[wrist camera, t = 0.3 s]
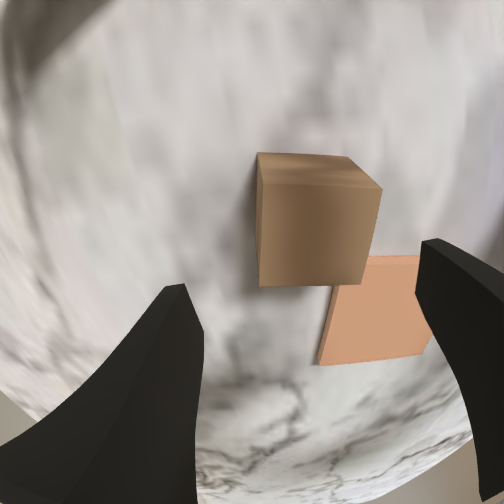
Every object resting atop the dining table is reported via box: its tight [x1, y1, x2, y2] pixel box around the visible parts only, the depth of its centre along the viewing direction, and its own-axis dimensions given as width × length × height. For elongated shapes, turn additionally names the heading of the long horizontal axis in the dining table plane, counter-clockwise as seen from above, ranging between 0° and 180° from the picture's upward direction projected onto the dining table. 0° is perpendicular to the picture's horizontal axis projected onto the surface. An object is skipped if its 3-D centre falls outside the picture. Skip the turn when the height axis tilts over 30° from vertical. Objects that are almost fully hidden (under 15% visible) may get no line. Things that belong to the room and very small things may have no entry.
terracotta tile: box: [317, 256, 433, 366], centre depth 22 cm, size 10×10×1 cm
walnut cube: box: [255, 152, 382, 287], centre depth 16 cm, size 5×5×5 cm
